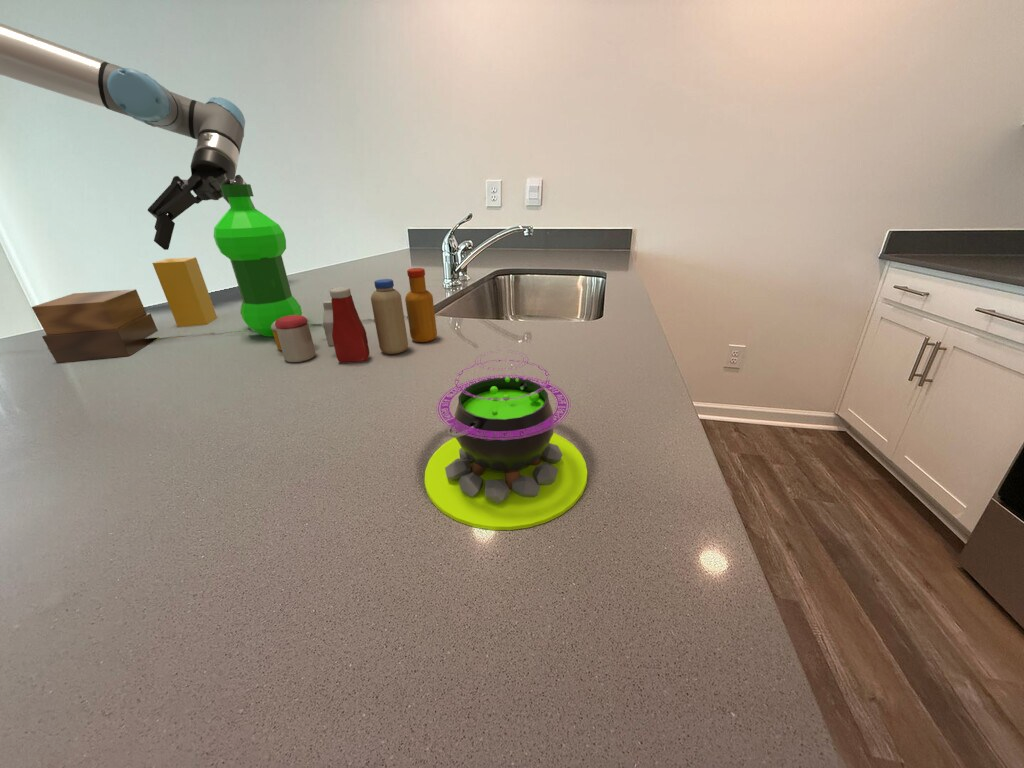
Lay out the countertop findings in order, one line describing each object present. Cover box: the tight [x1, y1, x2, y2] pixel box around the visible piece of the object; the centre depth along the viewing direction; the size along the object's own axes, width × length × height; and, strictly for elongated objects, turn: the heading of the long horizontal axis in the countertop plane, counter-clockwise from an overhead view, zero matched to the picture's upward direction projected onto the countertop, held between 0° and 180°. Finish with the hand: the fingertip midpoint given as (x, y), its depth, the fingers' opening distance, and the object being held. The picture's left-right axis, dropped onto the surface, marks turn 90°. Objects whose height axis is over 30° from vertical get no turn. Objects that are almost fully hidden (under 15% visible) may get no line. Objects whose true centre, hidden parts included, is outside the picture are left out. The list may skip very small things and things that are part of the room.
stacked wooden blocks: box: [31, 288, 160, 364], centre depth 68 cm, size 10×10×9 cm
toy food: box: [271, 267, 438, 364], centre depth 65 cm, size 27×13×12 cm, turn 92°
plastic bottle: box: [213, 183, 303, 338], centre depth 71 cm, size 10×10×25 cm
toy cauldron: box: [424, 350, 588, 531], centre depth 35 cm, size 15×15×11 cm
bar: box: [151, 256, 218, 328], centre depth 77 cm, size 5×5×13 cm
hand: (196, 244), depth 81 cm, fingers open, 13 cm apart
